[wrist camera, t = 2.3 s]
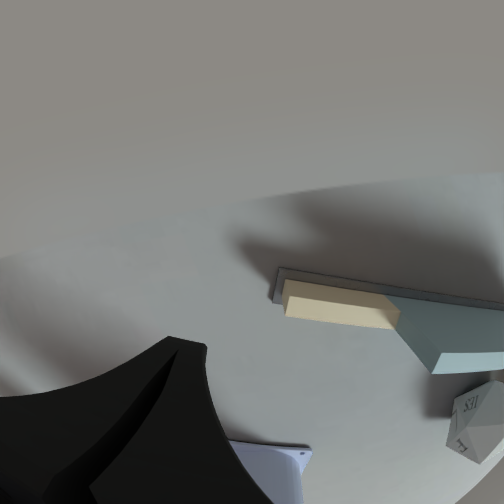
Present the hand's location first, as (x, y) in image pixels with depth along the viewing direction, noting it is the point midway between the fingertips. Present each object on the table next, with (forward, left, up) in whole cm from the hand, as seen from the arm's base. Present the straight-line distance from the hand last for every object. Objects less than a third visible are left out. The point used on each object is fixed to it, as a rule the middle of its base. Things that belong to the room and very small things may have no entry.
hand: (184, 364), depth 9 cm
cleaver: (+16, 0, -10) cm, 19 cm away
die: (+28, -10, -10) cm, 31 cm away
